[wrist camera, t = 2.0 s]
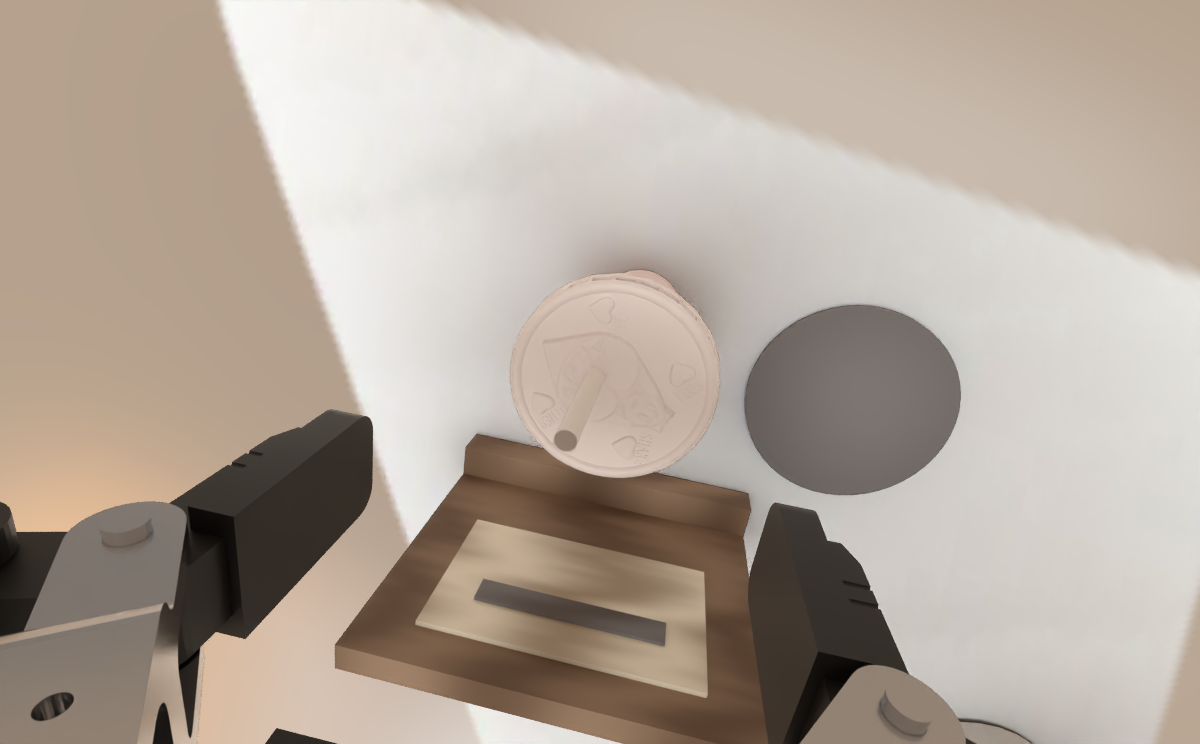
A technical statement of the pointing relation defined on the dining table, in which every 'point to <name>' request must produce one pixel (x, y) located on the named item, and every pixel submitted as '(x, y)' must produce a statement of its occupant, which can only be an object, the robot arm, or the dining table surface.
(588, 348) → the smoothie
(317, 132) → the dining table surface
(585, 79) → the dining table surface
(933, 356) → the coaster
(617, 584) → the placard
